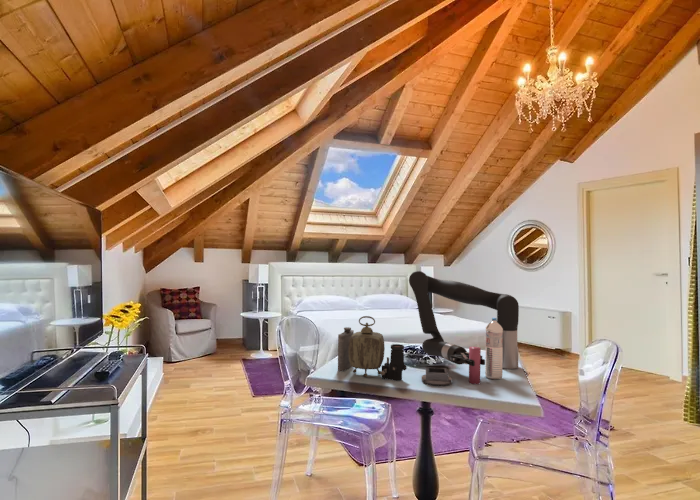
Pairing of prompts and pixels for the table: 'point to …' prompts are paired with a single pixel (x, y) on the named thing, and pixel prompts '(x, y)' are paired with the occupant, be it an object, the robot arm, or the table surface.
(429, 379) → the candle holder
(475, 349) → the candle
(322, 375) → the table surface
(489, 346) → the water bottle
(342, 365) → the flask
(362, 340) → the tabletop clock
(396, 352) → the scope
